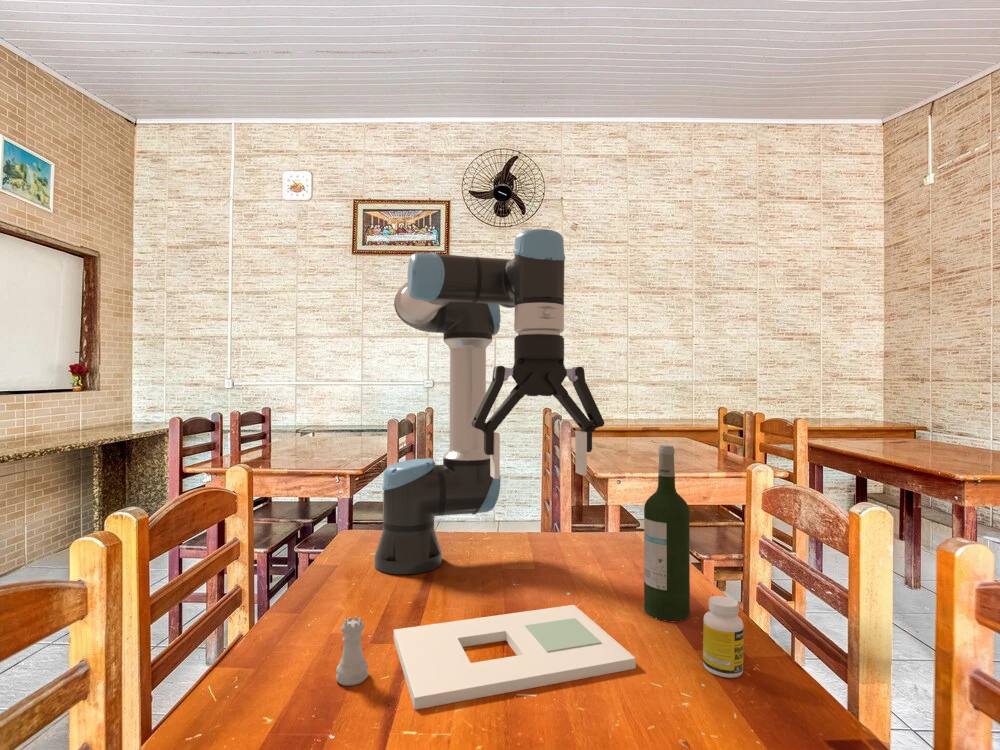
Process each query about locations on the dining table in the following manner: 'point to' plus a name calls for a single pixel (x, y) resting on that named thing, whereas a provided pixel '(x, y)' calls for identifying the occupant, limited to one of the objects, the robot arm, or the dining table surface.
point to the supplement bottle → (723, 638)
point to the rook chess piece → (352, 654)
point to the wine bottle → (666, 546)
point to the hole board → (533, 637)
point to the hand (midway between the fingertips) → (538, 475)
